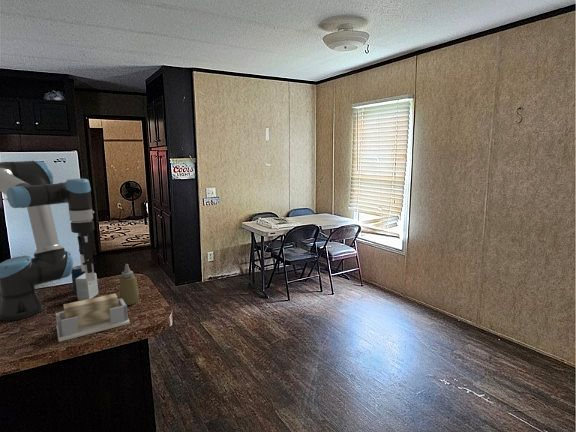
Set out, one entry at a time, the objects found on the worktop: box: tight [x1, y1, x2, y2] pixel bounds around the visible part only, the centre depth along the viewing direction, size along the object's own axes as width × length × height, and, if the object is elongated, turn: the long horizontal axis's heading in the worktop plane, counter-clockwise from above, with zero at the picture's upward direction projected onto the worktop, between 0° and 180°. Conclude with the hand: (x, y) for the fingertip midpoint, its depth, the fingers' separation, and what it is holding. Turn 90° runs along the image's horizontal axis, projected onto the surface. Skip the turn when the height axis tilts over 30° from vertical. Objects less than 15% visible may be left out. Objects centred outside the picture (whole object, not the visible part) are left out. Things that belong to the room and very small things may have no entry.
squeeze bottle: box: [119, 263, 140, 306], centre depth 161 cm, size 8×8×18 cm
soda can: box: [70, 265, 85, 294], centre depth 176 cm, size 7×7×12 cm
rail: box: [62, 293, 119, 326], centre depth 140 cm, size 18×4×8 cm, turn 125°
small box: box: [75, 272, 99, 301], centre depth 169 cm, size 8×6×10 cm
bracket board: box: [55, 298, 131, 343], centre depth 141 cm, size 24×12×7 cm, turn 125°
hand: (88, 275), depth 138 cm, fingers open, 13 cm apart
